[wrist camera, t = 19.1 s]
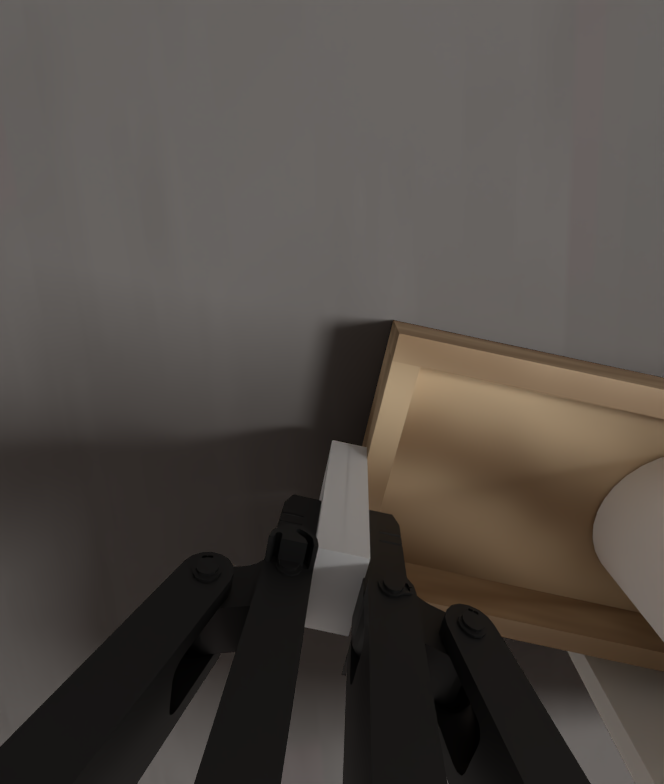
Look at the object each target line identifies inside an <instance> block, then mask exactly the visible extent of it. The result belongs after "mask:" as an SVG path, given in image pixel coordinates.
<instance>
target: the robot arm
mask: <svg viewBox="0 0 664 784" xmlns="http://www.w3.org/2000/svg"><path fill="white" fill-rule="evenodd" d="M351 626H352V638H351V643H350V647H349V650H348V654H347V657H346V661H345V664H344V668H343V671H342V675H346V673H347V681H346V709H345V737H344V765H343V784H447V780H448V783H449V784H591V783H590V782H589V780H588V779H587V777H586V775H585V774H584V772H583V770H582V769H581V767H580V765H579V764H578V762H577V760H576V759H575V757H574V755H573V754H572V752H571V750H570V749H569V747H568V746H567V744H566V742H565V741H564V739H563V737H562V736H561V734H560V732H559V731H558V729H557V727H556V726H555V724H554V722H553V721H552V719H551V717H550V716H549V714H548V713H547V711H546V709H545V708H544V706H543V704H542V703H541V701H540V699H539V698H538V696H537V694H536V693H535V691H534V689H533V688H532V686H531V684H530V683H529V681H528V680H527V678H526V676H525V675H524V673H523V671H522V670H521V668H520V666H519V665H518V663H517V661H516V660H515V658H514V656H513V655H512V653H511V651H510V650H509V648H508V647H507V645H506V643H505V642H504V640H503V638H502V637H501V635H500V633H499V632H498V630H497V628H496V627H495V625H494V624H493V623H492V621H491V620H490V619H489V618H488V617H487V616H486V615H485V614H484V613H482V612H481V611H480V610H478V609H476V608H474V607H472V606H470V605H465V604H460V603H459V604H454V605H451V606H450V607H449V608H448V609H447V610H446V612H444V611H442V610H440V609H438V608H436V607H434V606H432V605H430V604H428V603H426V602H425V601H423V600H422V599H421V598H419V597H418V596H417V593H416V590H415V588H414V585H413V584H412V583H411V582H410V581H409V579H408V578H407V575H406V568H405V561H404V554H403V547H402V540H401V533H400V526H399V524H398V522H397V521H396V519H395V518H394V516H393V515H392V514H387V513H382V512H378V511H373V510H369V499H368V466H367V447H363V446H358V445H353V444H349V443H344V442H339V441H335V440H332V443H331V448H330V453H329V457H328V462H327V466H326V471H325V475H324V480H323V484H322V489H321V494H320V499H319V500H316V499H311V498H306V497H302V496H297V495H293V496H291V497H290V498H289V499H288V500H287V501H286V502H285V504H284V507H283V510H282V514H281V516H280V520H279V523H278V526H277V528H276V529H274V530H273V531H272V532H271V534H270V535H269V539H268V544H267V550H266V556H265V559H264V560H262V561H260V562H259V563H257V564H254V565H251V566H244V567H233V565H232V563H231V562H230V560H229V559H228V558H226V557H225V556H223V555H221V554H217V553H213V552H202V553H199V554H196V555H192V556H191V557H189V558H188V559H187V560H185V561H184V562H183V563H182V564H181V565H180V566H179V567H178V568H177V569H176V570H175V571H174V572H173V573H172V574H171V575H170V576H169V577H168V578H167V579H166V580H165V581H164V582H163V583H162V584H161V585H160V586H159V587H158V588H157V589H156V590H155V591H154V592H153V593H152V594H151V595H150V596H149V597H148V598H147V599H146V600H145V601H144V602H143V603H142V604H141V605H140V606H139V607H138V608H137V609H136V610H135V611H134V612H133V613H132V614H131V615H130V616H129V617H128V618H127V619H126V620H125V621H124V622H123V623H122V625H121V626H120V627H119V628H118V629H117V630H116V631H115V632H114V633H113V634H112V635H111V636H110V637H109V638H108V639H107V640H106V641H105V642H104V643H103V644H102V645H101V646H100V647H99V648H98V649H97V650H96V651H95V652H94V653H93V654H92V655H91V656H90V657H89V658H88V659H87V660H86V661H85V662H84V663H83V664H82V665H81V666H80V667H79V668H78V669H77V670H76V671H75V672H74V673H73V674H72V675H71V676H70V677H69V678H68V679H67V680H66V681H65V682H64V683H63V684H62V685H61V686H60V687H59V688H58V689H57V690H56V691H55V692H54V693H53V694H52V695H51V696H50V697H49V698H48V699H47V700H46V701H45V702H44V703H43V704H42V705H41V706H40V707H39V708H38V709H37V710H36V711H35V712H34V713H33V714H32V715H31V716H30V717H29V718H28V719H27V720H26V721H25V722H24V723H23V724H22V725H21V726H20V727H19V728H18V729H17V730H16V731H15V732H14V733H13V734H12V735H11V737H10V738H9V739H8V740H7V741H6V742H5V743H4V744H3V745H2V746H1V747H0V784H137V783H138V781H139V780H140V778H141V777H142V775H143V774H144V772H145V770H146V769H147V767H148V766H149V764H150V763H151V761H152V760H153V758H154V757H155V755H156V754H157V752H158V750H159V749H160V747H161V746H162V744H163V743H164V741H165V740H166V738H167V737H168V735H169V734H170V732H171V730H172V729H173V727H174V726H175V724H176V723H177V721H178V720H179V718H180V717H181V715H182V713H183V712H184V710H185V709H186V707H187V706H188V704H189V703H190V701H191V700H192V698H193V697H194V695H195V693H196V692H197V690H198V689H199V687H200V686H201V684H202V683H203V681H204V680H205V678H206V676H207V675H208V673H209V672H210V670H211V669H212V667H213V666H214V664H215V663H216V661H217V660H218V658H219V656H220V653H226V652H235V651H236V653H235V656H234V659H233V662H232V666H231V669H230V672H229V675H228V678H227V681H226V685H225V688H224V691H223V694H222V697H221V700H220V704H219V707H218V710H217V713H216V716H215V719H214V723H213V726H212V729H211V732H210V735H209V738H208V742H207V745H206V748H205V751H204V754H203V757H202V761H201V764H200V767H199V770H198V773H197V776H196V780H195V783H194V784H281V778H282V772H283V765H284V758H285V752H286V745H287V739H288V732H289V725H290V719H291V712H292V706H293V699H294V693H295V686H296V679H297V673H298V666H299V660H300V653H301V647H302V640H303V633H304V627H306V628H311V629H316V630H321V631H325V632H330V633H334V634H339V635H344V636H349V633H350V629H351ZM446 777H447V778H446Z"/></svg>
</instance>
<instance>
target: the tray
mask: <svg viewBox="0 0 664 784" xmlns="http://www.w3.org/2000/svg"><path fill="white" fill-rule="evenodd" d="M362 446H363V447H367V466H368V499H369V510H373V511H378V512H382V513H387V514H392V515H393V516H394V518H395V519H396V521H397V522H398V524H399V526H400V533H401V540H402V547H403V554H404V561H405V568H406V575H407V578H408V579H409V581H410V582H411V583H412V584H413V585H414V588H415V590H416V593H417V596H418V597H419V598H421V599H422V600H423V601H425V602H426V603H428V604H430V605H432V606H434V607H436V608H438V609H440V610H442V611H444V612H446V610H447V609H448V608H449V607H450V606H451V605H454V604H459V603H460V604H465V605H470V606H472V607H474V608H476V609H478V610H480V611H481V612H482V613H484V614H485V615H486V616H487V617H488V618H489V619H490V620H491V621H492V623H493V624H494V625H495V627H496V628H497V630H498V632H499V633H500V635H501V637H505V638H509V639H514V640H518V641H523V642H528V643H532V644H537V645H542V646H546V647H551V648H556V649H560V650H565V651H570V652H574V653H579V654H583V655H588V656H593V657H597V658H602V659H607V660H611V661H616V662H621V663H625V664H630V665H634V666H639V667H644V668H648V669H653V670H658V671H662V672H664V642H663V641H662V639H661V638H660V637H659V636H658V634H657V633H656V632H655V630H654V629H653V628H652V627H651V625H650V624H649V623H648V622H647V620H646V619H645V618H644V617H643V615H642V614H641V613H640V612H639V610H638V609H637V608H636V607H635V605H634V604H633V603H632V601H631V600H630V599H629V598H628V596H627V595H626V594H625V593H624V591H623V590H622V589H621V588H620V586H619V585H618V584H617V583H616V581H615V580H614V579H613V578H612V576H611V575H610V574H609V572H608V571H607V570H606V569H605V567H604V566H603V565H602V564H601V562H600V560H599V558H598V556H597V554H596V552H595V549H594V543H593V524H594V521H595V518H596V515H597V511H598V509H599V508H600V506H601V504H602V502H603V500H604V499H605V497H606V496H607V495H608V494H609V492H610V491H611V490H612V489H613V487H614V486H616V485H617V484H618V483H619V482H620V481H621V480H622V479H623V478H624V477H626V476H627V475H628V474H630V473H631V472H633V471H635V470H636V469H638V468H639V467H641V466H643V465H645V464H647V463H649V462H652V461H654V460H656V459H659V458H661V457H664V378H662V377H657V376H653V375H648V374H643V373H639V372H634V371H629V370H625V369H620V368H615V367H611V366H606V365H601V364H597V363H592V362H587V361H582V360H578V359H573V358H568V357H564V356H559V355H554V354H550V353H545V352H540V351H536V350H531V349H526V348H522V347H517V346H512V345H508V344H503V343H498V342H493V341H489V340H484V339H479V338H475V337H470V336H465V335H461V334H456V333H451V332H447V331H442V330H437V329H433V328H428V327H423V326H419V325H414V324H409V323H404V322H400V321H395V320H393V323H392V327H391V331H390V335H389V339H388V343H387V347H386V351H385V356H384V360H383V364H382V368H381V372H380V376H379V380H378V384H377V388H376V392H375V396H374V400H373V404H372V408H371V412H370V416H369V420H368V424H367V428H366V432H365V436H364V440H363V444H362Z"/></svg>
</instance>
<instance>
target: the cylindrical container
mask: <svg viewBox="0 0 664 784" xmlns="http://www.w3.org/2000/svg"><path fill="white" fill-rule="evenodd" d="M593 543H594V549H595V552H596V554H597V556H598V558H599V560H600V562H601V564H602V565H603V566H604V567H605V569H606V570H607V571H608V572H609V574H610V575H611V576H612V578H613V579H614V580H615V581H616V583H617V584H618V585H619V586H620V588H621V589H622V590H623V591H624V593H625V594H626V595H627V596H628V598H629V599H630V600H631V601H632V603H633V604H634V605H635V607H636V608H637V609H638V610H639V612H640V613H641V614H642V615H643V617H644V618H645V619H646V620H647V622H648V623H649V624H650V625H651V627H652V628H653V629H654V630H655V632H656V633H657V634H658V636H659V637H660V638H661V639H662V641H663V642H664V457H661V458H659V459H656V460H654V461H652V462H649V463H647V464H645V465H643V466H641V467H639V468H638V469H636V470H635V471H633V472H631V473H630V474H628V475H627V476H626V477H624V478H623V479H622V480H621V481H620V482H619V483H618V484H617V485H616V486H614V487H613V489H612V490H611V491H610V492H609V494H608V495H607V496H606V497H605V499H604V500H603V502H602V504H601V506H600V508H599V509H598V511H597V515H596V518H595V521H594V524H593Z"/></svg>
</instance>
